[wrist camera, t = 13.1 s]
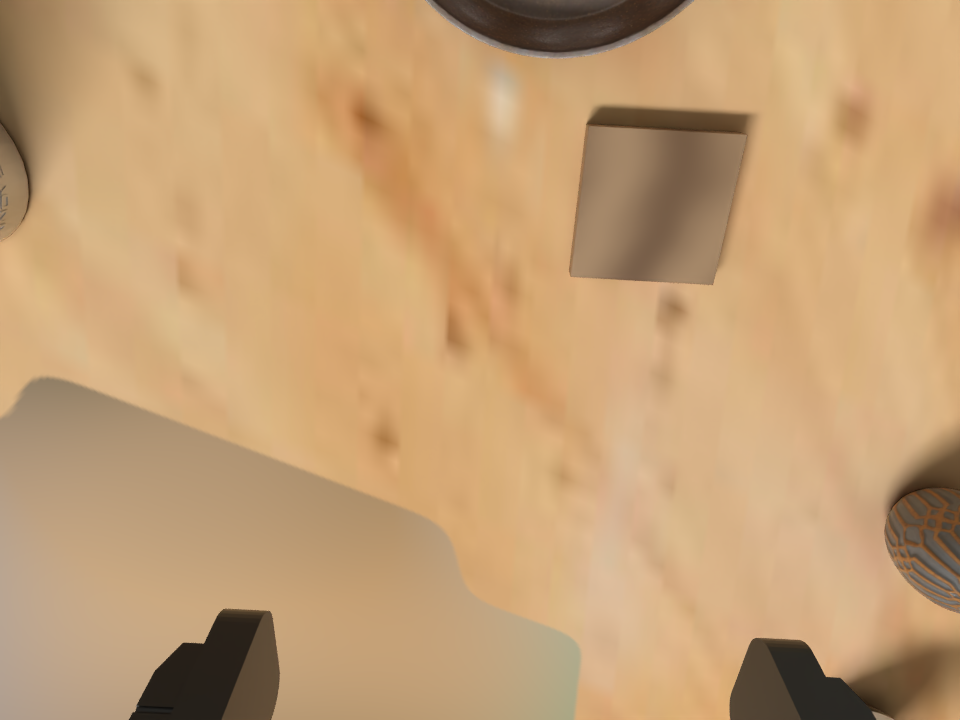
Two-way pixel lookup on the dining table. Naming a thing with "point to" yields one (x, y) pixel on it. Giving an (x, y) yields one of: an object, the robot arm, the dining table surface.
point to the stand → (654, 203)
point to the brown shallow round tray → (558, 23)
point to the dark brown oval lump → (928, 543)
